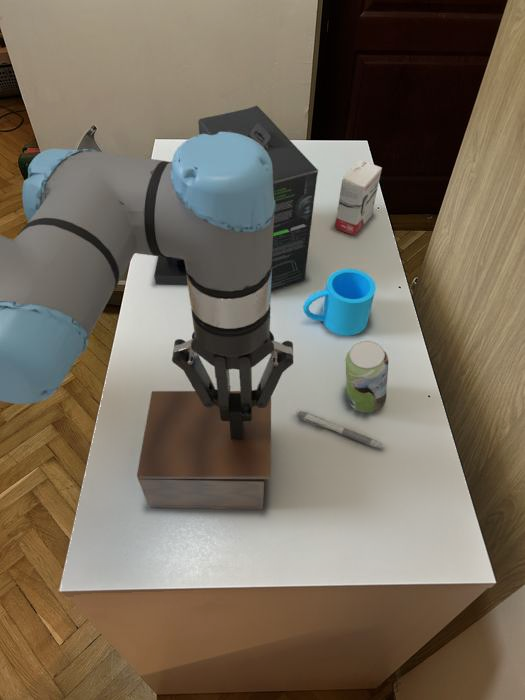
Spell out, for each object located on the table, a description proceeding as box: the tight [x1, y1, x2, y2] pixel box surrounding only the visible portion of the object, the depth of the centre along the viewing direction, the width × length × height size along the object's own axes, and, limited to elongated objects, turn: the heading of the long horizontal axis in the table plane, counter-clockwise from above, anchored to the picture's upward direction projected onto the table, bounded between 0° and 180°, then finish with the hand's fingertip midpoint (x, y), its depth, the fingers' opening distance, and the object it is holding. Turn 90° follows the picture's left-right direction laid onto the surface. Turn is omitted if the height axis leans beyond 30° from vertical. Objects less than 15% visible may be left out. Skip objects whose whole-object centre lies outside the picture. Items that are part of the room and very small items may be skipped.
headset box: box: [197, 105, 319, 292], centre depth 95 cm, size 22×12×26 cm, turn 26°
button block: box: [153, 256, 188, 286], centre depth 102 cm, size 10×12×4 cm
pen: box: [295, 410, 385, 449], centre depth 80 cm, size 1×14×1 cm, turn 65°
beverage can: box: [345, 340, 389, 413], centre depth 79 cm, size 6×7×12 cm
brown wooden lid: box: [136, 390, 272, 480], centre depth 69 cm, size 16×13×1 cm
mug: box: [302, 268, 377, 337], centre depth 91 cm, size 12×8×8 cm
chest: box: [137, 478, 265, 511], centre depth 73 cm, size 16×13×9 cm
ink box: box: [334, 159, 383, 236], centre depth 108 cm, size 9×5×12 cm, turn 147°
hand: (237, 430), depth 68 cm, fingers closed
